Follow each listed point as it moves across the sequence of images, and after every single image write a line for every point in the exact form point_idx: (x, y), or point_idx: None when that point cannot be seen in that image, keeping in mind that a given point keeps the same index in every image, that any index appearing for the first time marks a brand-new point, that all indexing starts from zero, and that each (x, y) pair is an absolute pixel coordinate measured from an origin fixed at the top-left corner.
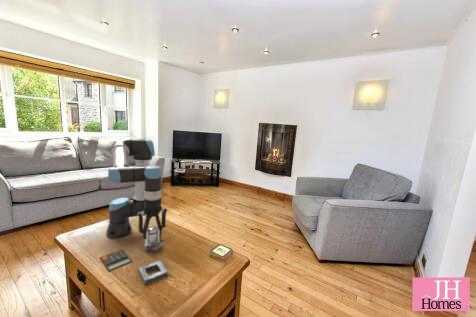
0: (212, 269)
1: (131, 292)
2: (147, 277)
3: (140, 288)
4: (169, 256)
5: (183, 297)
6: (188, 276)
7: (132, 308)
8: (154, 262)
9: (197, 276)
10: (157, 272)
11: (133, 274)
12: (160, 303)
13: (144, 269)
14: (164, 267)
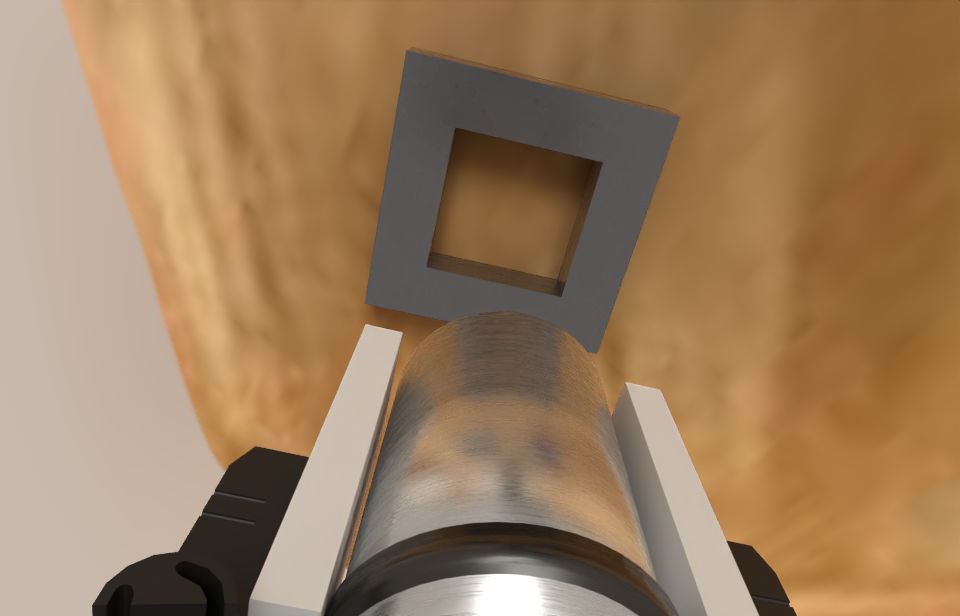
0: (900, 542)
1: (246, 286)
2: (407, 280)
3: (324, 299)
4: (847, 67)
5: None
6: (702, 467)
7: (205, 427)
8: (603, 105)
9: (749, 514)
10: (520, 288)
11: (348, 57)
12: None
13: (444, 139)
14: (621, 275)
